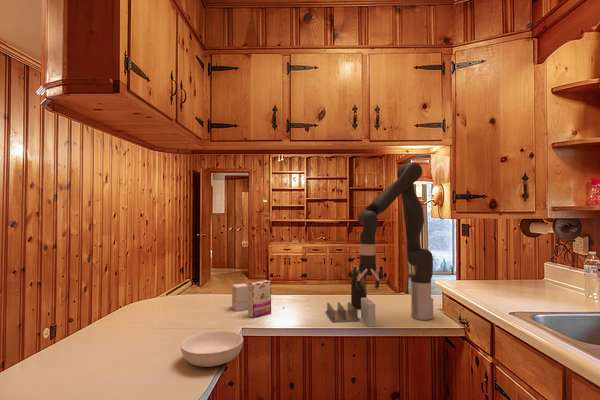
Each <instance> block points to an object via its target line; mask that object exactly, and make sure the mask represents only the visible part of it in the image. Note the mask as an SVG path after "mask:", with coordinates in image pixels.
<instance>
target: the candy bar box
mask: <svg viewBox="0 0 600 400" xmlns="http://www.w3.org/2000/svg"><path fill="white" fill-rule="evenodd" d="M271 283H272V281H271V280H267V279H263V280H258V281H252V282H248V283H247V285H248V310H247V316H248V317H249V316H250V318H252V319H255V318H260V317H264V316H267V315H270V314H272V284H271Z"/></svg>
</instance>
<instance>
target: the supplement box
mask: <svg viewBox="0 0 600 400" xmlns="http://www.w3.org/2000/svg"><path fill="white" fill-rule="evenodd" d="M231 309H233V310H234V311H235V310H236V312H241V311H248V283H247V284H246V283H236V284H232V285H231Z"/></svg>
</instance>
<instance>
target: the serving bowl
mask: <svg viewBox="0 0 600 400" xmlns="http://www.w3.org/2000/svg"><path fill="white" fill-rule="evenodd" d="M243 343H244V337H243V335H241V334H240V333H238V332H236V331H232V330H220V329H219V330H208V331H203V332H199V333H195V334H193V335H190V336H188V337H187V338H185V339H183V341H182V342H181V343H180V350H181V354H182V356H183V358H184V359H185V361H186V362H188V363H190V364H191V365H193V366H196V367H203V368H204V367H207V368H208V367H211V368H212V367H215V366H217V367H218V366H220V365H224V364H226V363H229V362H230V361H232V360H234V359H235V358H237V356H238V355H239V354H240V352H241V351H242V348H243Z"/></svg>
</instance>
